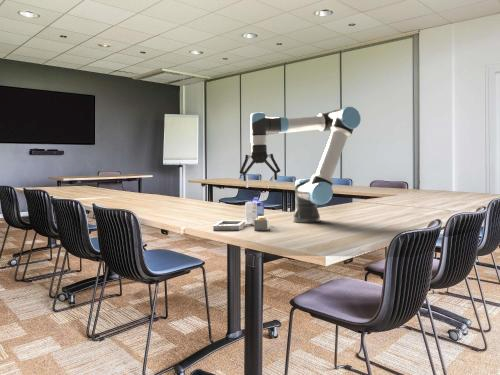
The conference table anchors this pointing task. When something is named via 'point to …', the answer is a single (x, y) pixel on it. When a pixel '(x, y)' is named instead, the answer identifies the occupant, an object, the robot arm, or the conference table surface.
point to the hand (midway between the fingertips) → (260, 187)
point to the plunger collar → (261, 224)
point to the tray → (229, 225)
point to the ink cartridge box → (253, 210)
